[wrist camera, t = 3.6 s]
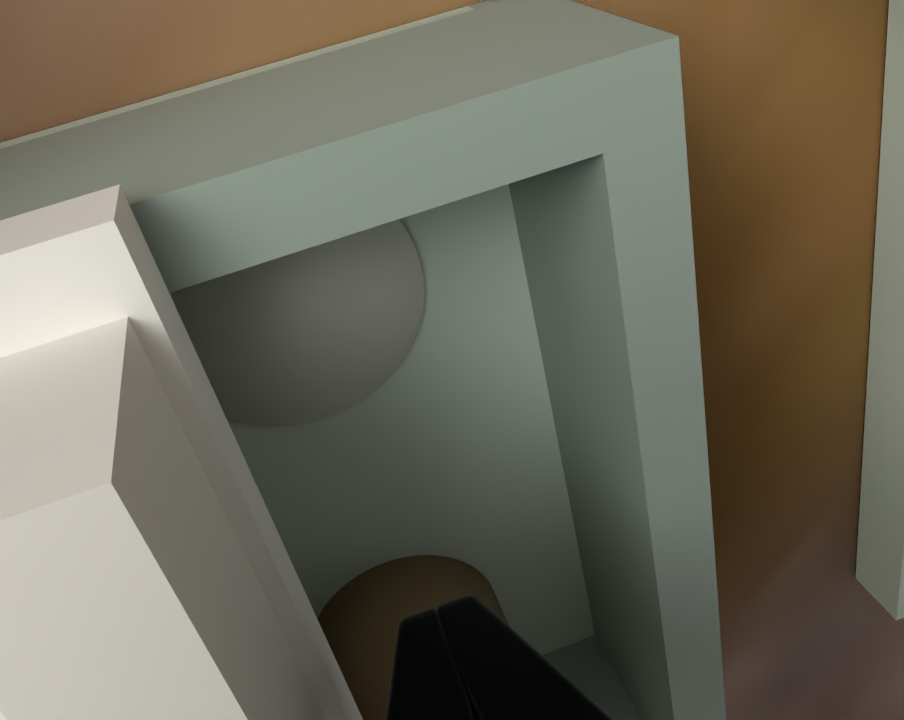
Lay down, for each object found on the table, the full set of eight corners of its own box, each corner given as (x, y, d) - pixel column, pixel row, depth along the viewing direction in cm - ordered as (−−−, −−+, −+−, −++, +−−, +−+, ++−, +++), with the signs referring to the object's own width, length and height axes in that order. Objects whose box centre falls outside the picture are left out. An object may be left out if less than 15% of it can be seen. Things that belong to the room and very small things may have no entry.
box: (631, 634, 17) (732, 802, 14) (233, 792, 16) (247, 1011, 13) (530, -13, 10) (677, 35, 7) (-155, 188, 9) (-312, 340, 6)
